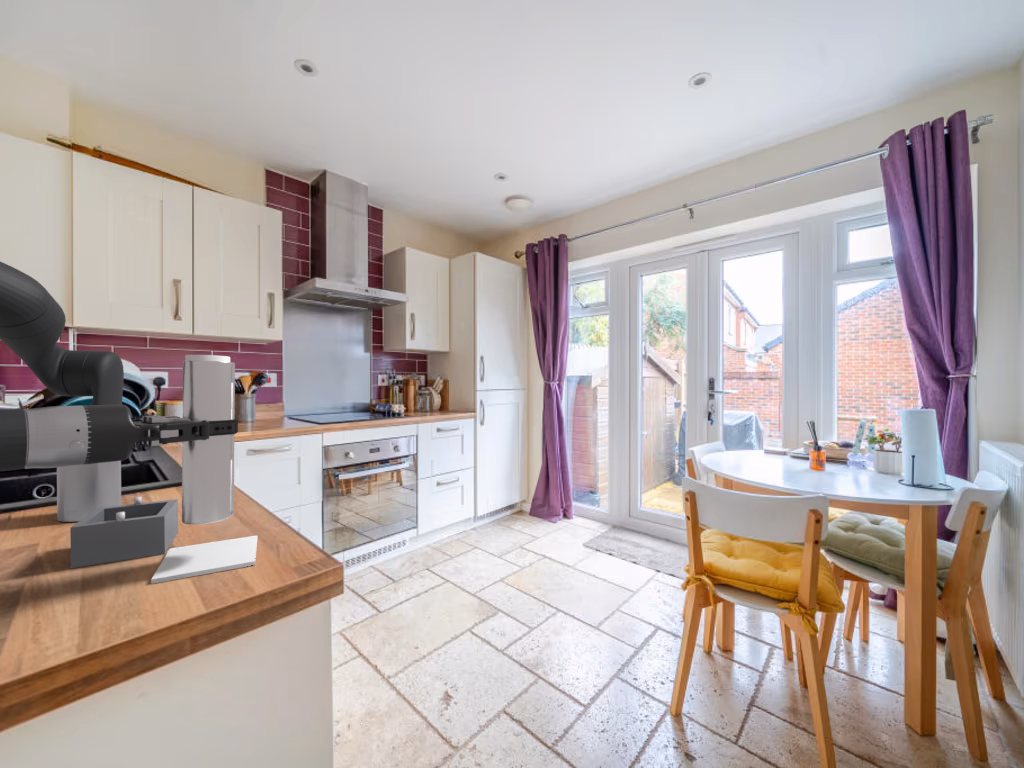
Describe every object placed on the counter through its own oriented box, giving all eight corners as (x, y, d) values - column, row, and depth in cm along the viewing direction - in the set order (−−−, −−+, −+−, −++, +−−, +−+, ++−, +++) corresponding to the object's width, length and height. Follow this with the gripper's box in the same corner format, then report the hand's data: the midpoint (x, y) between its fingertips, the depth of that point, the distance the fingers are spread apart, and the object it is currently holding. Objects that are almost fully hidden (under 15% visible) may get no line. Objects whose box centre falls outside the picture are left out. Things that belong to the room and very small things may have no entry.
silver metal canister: (206, 526, 62) (208, 353, 62) (170, 523, 63) (171, 353, 63) (243, 513, 68) (245, 356, 68) (209, 510, 69) (211, 356, 69)
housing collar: (97, 543, 72) (97, 500, 72) (178, 532, 77) (177, 492, 77) (70, 568, 62) (70, 519, 62) (164, 553, 68) (164, 508, 67)
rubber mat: (170, 552, 68) (170, 548, 68) (257, 538, 74) (257, 535, 74) (151, 583, 58) (151, 579, 58) (254, 565, 64) (254, 561, 64)
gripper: (91, 407, 50) (249, 403, 63) (67, 403, 58) (210, 400, 72) (91, 472, 50) (248, 453, 63) (66, 458, 58) (210, 445, 72)
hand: (228, 425), depth 68 cm, fingers closed on silver metal canister, 5 cm apart
